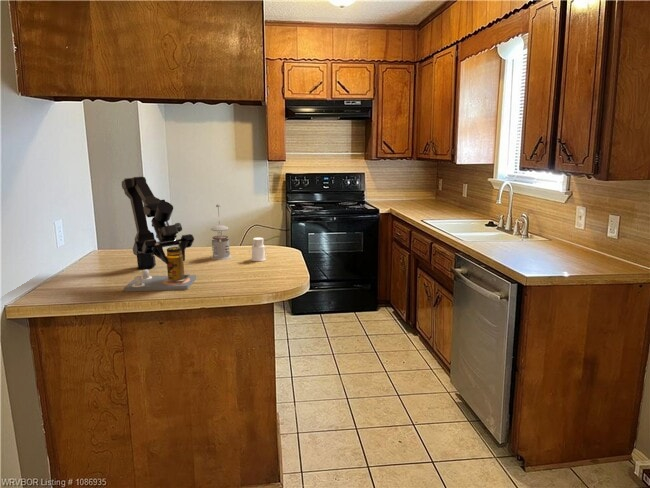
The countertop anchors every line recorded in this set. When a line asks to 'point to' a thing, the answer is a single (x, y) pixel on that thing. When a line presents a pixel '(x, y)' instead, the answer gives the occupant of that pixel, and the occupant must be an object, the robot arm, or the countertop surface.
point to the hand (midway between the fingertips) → (176, 262)
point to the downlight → (258, 250)
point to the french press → (220, 243)
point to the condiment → (175, 265)
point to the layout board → (157, 283)
